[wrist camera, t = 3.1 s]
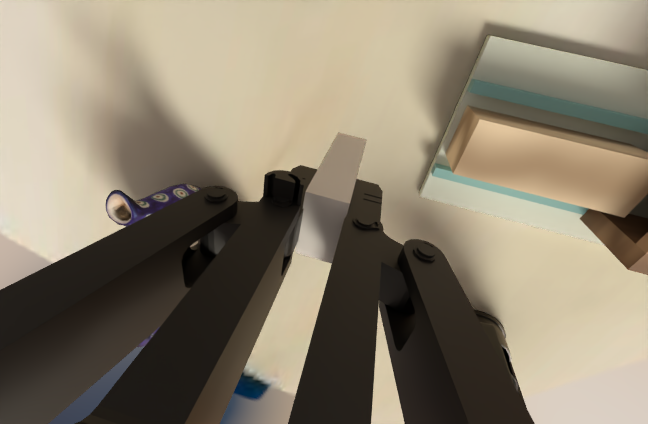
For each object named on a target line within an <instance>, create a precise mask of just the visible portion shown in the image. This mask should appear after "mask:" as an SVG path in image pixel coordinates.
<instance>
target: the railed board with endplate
mask: <svg viewBox="0 0 648 424" xmlns="http://www.w3.org/2000/svg"><path fill="white" fill-rule="evenodd" d="M467 105H468V106H473V107H477V108H481V109H485V110H489V111H494V112H498V113H502V114H506V115H510V116H515V117H519V118H523V119H527V120H532V121H536V122H540V123H544V124H548V125H553V126H557V127H561V128H565V129H569V130H574V131H578V132H582V133H586V134H590V135H595V136H599V137H603V138H607V139H611V140H616V141H620V142H624V143H628V144H632V145H634V146H636V147H638V148H640V149H642V150H644V151H646V152H648V70H646V69H641V68H637V67H632V66H627V65H623V64H618V63H614V62H609V61H605V60H600V59H595V58H591V57H586V56H582V55H577V54H573V53H568V52H564V51H559V50H554V49H550V48H545V47H541V46H536V45H532V44H527V43H523V42H518V41H513V40H509V39H504V38H500V37H495V36H491V35H487V38H486V40H485V42H484V44H483V47H482V49H481V51H480V54H479V56H478V58H477V61H476V63H475V65H474V68H473V70H472V72H471V74H470V77H469V79H468V81H467V84H466V86H465V88H464V91H463V93H462V95H461V97H460V100H459V102H458V104H457V107H456V109H455V111H454V114H453V116H452V118H451V120H450V123H449V125H448V127H447V130H446V132H445V134H444V137H443V139H442V141H441V143H440V146H439V148H438V150H437V153H436V155H435V157H434V160H433V162H432V164H431V166H430V169H429V171H428V173H427V176H426V178H425V180H424V183H423V185H422V187H421V189H420V192H419V196H420V197H422V198H426V199H430V200H433V201H437V202H441V203H445V204H449V205H452V206H456V207H460V208H464V209H468V210H471V211H475V212H479V213H483V214H487V215H490V216H494V217H498V218H502V219H506V220H509V221H513V222H517V223H521V224H525V225H528V226H532V227H536V228H540V229H544V230H547V231H551V232H555V233H559V234H563V235H566V236H570V237H574V238H578V239H582V240H585V241H589V242H593V243H597V244H601V245H604V244H603V243H602V242H601V241H600V240H599V239H598V238H597V237H596V235H595V234H594V233H593V232H592V231H591V230H590V229H589V228H588V227H587V226H586V225H585V224H584V223H583V222H582V221H581V220H580V217H581V216H582V215H584V214H585V213H586V212H587V210H588V209H589V208H585V207H581V206H577V205H573V204H569V203H565V202H561V201H557V200H554V199H550V198H546V197H542V196H538V195H534V194H530V193H526V192H522V191H518V190H514V189H510V188H507V187H503V186H499V185H495V184H491V183H487V182H483V181H479V180H475V179H471V178H467V177H463V176H460V175H456V174H453V172H452V170H451V167H450V165H449V162H448V160H447V157H446V154H445V153H446V151H447V149H448V146H449V144H450V142H451V140H452V138H453V135H454V133H455V131H456V129H457V127H458V124H459V122H460V120H461V118H462V116H463V113H464V111H465V109H466V107H467ZM629 214H633V215H637V216H641V217H644V218H648V194H647V195H646V196H645V197H644V198H643V199H642V200H641V201H640V202H639V203H638V204H637V205H636V206H635V207H634V209H633V210H632V211H631V212H630V213H629ZM604 246H605V245H604Z"/></svg>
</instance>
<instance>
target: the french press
mask: <svg viewBox="0 0 648 424" xmlns="http://www.w3.org/2000/svg"><path fill="white" fill-rule="evenodd" d="M474 312H475V313H476V315H477V317H478V319H479V321H480V323H481V325H482V326H483V328H484V330H485V332H486V334H487V336H488V338H489V340H490V341H491V343H492V345H493V347H494V349H495V351H496V353H497V354H498V356H499V358H500V360H501V362H502V364H503V366H504V368H505V369H506V371H507V373H508V375H509V377H510V379H511V381H512V382H513V384H514V386H515V388H516V390H517V392H518V394H519V396H520V397H521V399H522V401H523V403H524V405H525V402H524V399H523V396H522V393H521V390H520V387H519V385H518V382H517V379H516V376H515V373H514V370H513V367H512V364H511V354H510V351H509V348H508V346H507V343H506V340H505V337H506V334H505V331H504V328H503V326H502V325H501V323H500V322H499V321H497V320H496V319H495V318H494V317H492V316H490V315H488V314H486V313H483V312H480V311H476V310H474ZM525 407H526V405H525ZM526 409H527V408H526Z"/></svg>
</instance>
